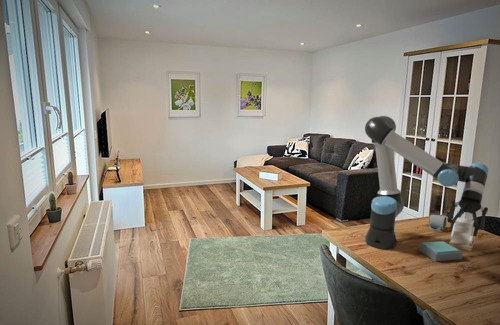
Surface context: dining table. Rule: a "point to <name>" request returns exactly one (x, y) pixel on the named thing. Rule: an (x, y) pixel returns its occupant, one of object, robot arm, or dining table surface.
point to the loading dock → (439, 251)
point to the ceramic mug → (437, 222)
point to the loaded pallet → (462, 234)
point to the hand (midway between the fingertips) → (461, 239)
